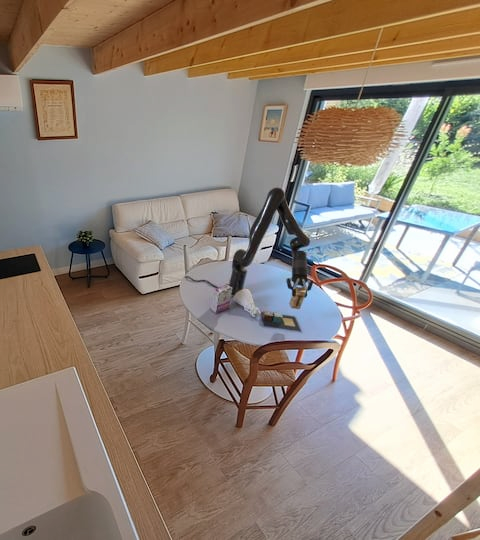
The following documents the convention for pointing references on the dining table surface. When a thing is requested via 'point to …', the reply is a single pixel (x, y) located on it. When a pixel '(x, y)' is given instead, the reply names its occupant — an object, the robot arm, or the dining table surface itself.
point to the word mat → (284, 323)
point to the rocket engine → (246, 301)
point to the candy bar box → (221, 298)
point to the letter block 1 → (267, 316)
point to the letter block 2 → (277, 317)
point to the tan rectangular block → (297, 298)
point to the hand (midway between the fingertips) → (299, 296)
